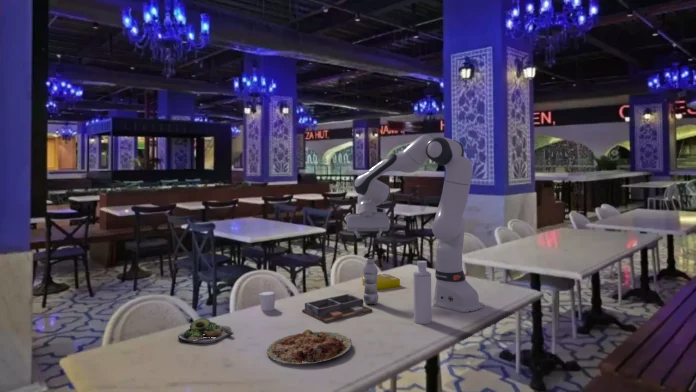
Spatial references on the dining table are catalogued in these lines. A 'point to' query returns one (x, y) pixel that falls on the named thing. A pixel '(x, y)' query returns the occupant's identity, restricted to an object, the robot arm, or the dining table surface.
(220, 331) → the salad plate
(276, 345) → the rice dish
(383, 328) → the dining table surface
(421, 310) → the white bottle
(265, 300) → the white cup
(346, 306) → the socket board
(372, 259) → the plastic bottle
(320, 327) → the dining table surface
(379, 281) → the element tile
